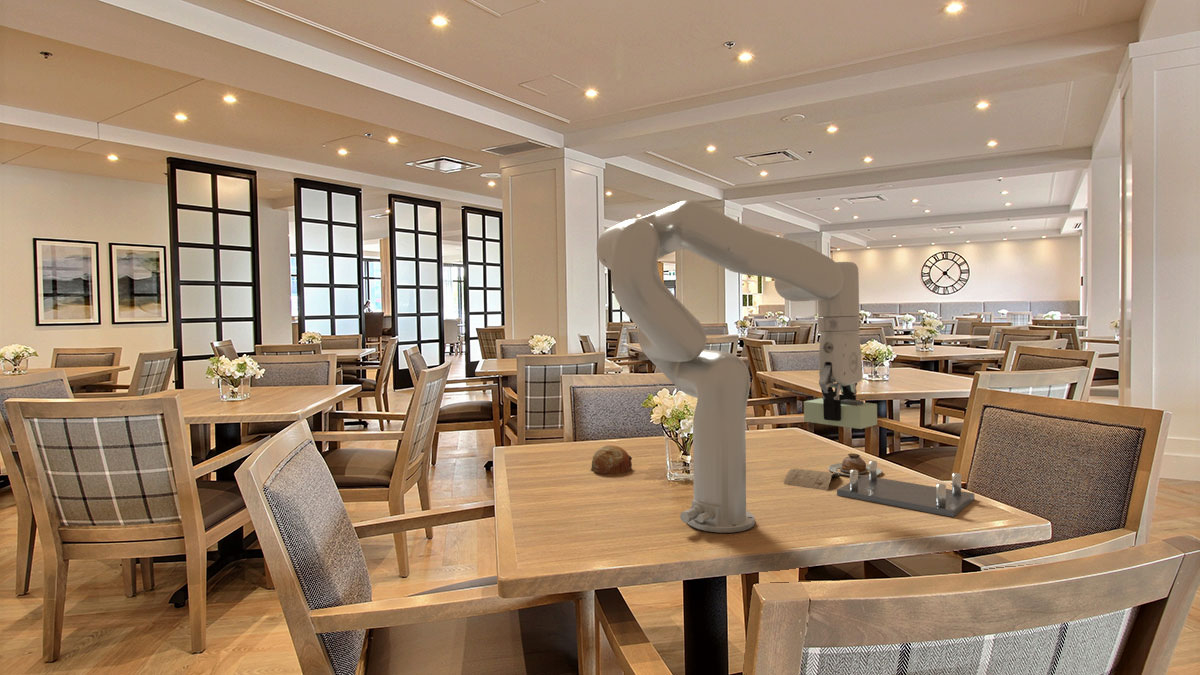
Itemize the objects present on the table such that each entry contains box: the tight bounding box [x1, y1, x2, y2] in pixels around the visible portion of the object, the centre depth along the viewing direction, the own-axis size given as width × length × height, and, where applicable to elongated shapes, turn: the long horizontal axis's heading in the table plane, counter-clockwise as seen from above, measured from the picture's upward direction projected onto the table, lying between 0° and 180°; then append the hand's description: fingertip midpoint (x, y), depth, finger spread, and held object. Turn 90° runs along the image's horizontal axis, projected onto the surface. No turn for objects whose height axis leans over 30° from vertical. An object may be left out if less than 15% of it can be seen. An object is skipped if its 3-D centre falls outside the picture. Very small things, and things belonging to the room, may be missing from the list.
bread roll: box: [590, 444, 633, 475], centre depth 157 cm, size 10×10×8 cm
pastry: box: [827, 453, 883, 478], centre depth 151 cm, size 12×12×5 cm
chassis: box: [836, 460, 975, 518], centre depth 130 cm, size 15×22×5 cm
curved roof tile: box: [783, 467, 841, 491], centre depth 144 cm, size 14×10×3 cm
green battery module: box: [803, 397, 878, 430], centre depth 123 cm, size 6×12×5 cm, turn 38°
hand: (840, 416), depth 123 cm, fingers closed on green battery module, 6 cm apart
